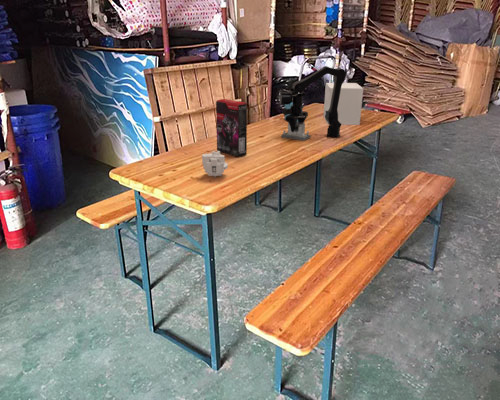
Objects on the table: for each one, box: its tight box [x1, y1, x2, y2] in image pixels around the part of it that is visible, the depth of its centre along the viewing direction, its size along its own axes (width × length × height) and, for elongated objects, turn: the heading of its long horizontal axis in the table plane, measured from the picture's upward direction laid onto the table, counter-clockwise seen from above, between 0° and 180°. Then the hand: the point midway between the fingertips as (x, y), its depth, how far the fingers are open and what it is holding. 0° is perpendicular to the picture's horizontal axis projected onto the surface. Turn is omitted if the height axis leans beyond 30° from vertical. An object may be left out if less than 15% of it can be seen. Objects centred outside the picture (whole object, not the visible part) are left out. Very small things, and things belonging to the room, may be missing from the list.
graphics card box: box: [215, 98, 248, 158], centre depth 227 cm, size 17×7×27 cm, turn 46°
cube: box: [323, 82, 364, 126], centre depth 302 cm, size 25×21×24 cm
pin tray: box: [280, 129, 312, 142], centre depth 263 cm, size 15×9×4 cm, turn 58°
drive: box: [287, 122, 306, 136], centre depth 262 cm, size 9×5×7 cm, turn 58°
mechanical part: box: [201, 150, 229, 179], centre depth 197 cm, size 11×12×12 cm
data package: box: [284, 102, 304, 122], centre depth 303 cm, size 12×4×12 cm, turn 51°
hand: (296, 130), depth 262 cm, fingers open, 9 cm apart
